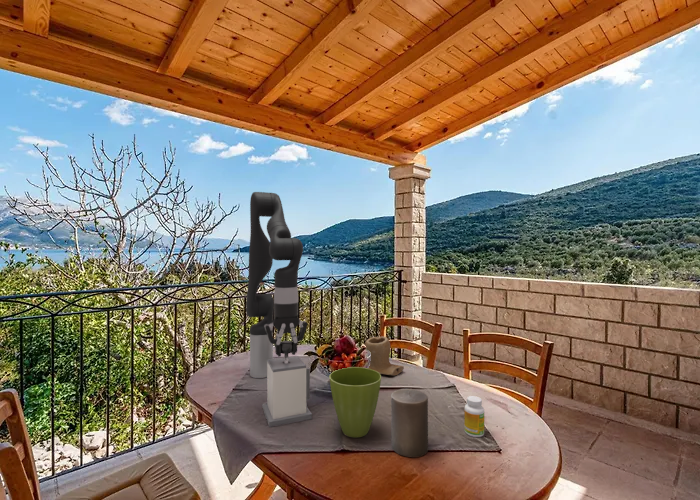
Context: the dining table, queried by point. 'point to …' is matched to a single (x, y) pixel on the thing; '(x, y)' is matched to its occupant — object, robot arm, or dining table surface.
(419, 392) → the pillar candle
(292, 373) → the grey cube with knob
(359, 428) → the flower pot
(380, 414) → the dining table surface
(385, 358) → the tan boot
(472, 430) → the supplement bottle
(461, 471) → the dining table surface
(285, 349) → the plunger
